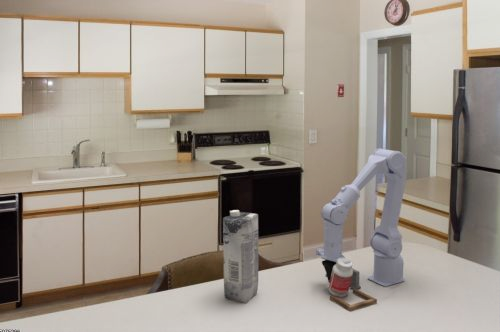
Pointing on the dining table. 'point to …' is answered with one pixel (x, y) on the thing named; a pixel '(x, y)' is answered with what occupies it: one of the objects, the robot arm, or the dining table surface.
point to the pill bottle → (340, 278)
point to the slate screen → (354, 280)
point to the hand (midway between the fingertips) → (332, 282)
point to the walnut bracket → (356, 306)
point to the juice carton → (240, 255)
